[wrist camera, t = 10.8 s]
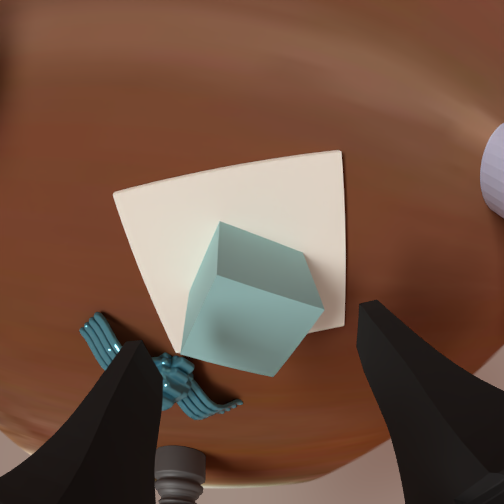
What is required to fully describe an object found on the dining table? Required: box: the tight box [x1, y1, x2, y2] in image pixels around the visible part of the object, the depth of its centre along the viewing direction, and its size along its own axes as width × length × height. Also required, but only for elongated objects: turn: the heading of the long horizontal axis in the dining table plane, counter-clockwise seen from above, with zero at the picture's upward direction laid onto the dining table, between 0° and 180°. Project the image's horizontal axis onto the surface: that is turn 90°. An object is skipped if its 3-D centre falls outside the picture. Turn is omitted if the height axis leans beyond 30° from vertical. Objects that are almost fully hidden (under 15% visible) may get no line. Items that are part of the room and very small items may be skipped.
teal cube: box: [180, 221, 325, 377], centre depth 16 cm, size 5×5×5 cm
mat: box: [113, 150, 346, 353], centre depth 18 cm, size 12×12×1 cm
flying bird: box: [80, 312, 243, 420], centre depth 22 cm, size 15×7×4 cm, turn 41°
